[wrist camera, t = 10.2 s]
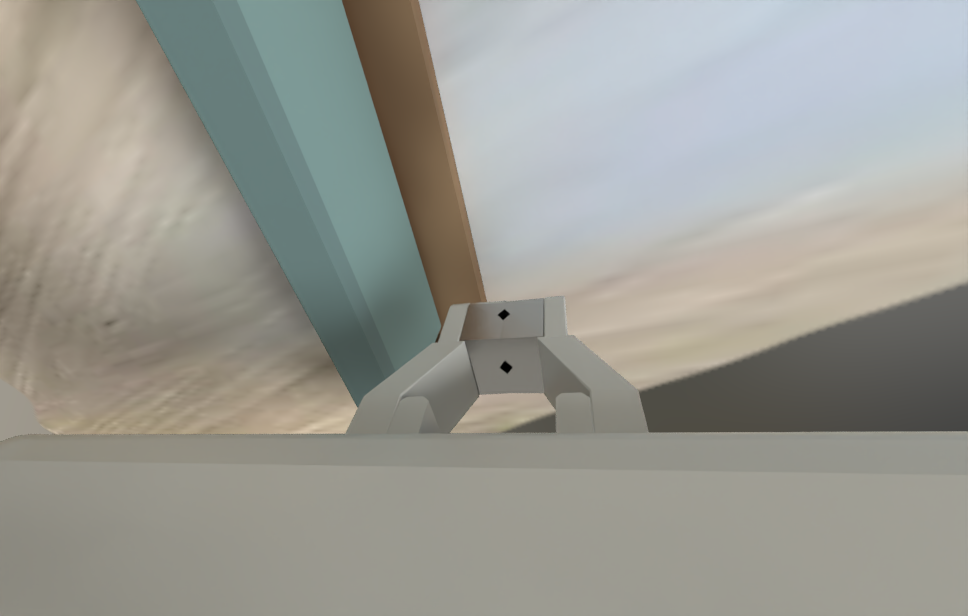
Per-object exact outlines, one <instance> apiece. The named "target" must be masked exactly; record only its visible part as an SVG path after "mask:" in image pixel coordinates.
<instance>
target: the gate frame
mask: <svg viewBox="0 0 968 616" xmlns="http://www.w3.org/2000/svg"><path fill="white" fill-rule="evenodd" d="M342 3H343V6H344V10H345V13H346V16H347V19H348V23H349V26H350V29H351V32H352V36H353V39H354V42H355V46H356V49H357V52H358V55H359V59H360V62H361V65H362V68H363V72H364V75H365V78H366V81H367V85H368V88H369V91H370V95H371V98H372V101H373V104H374V108H375V111H376V114H377V117H378V121H379V124H380V127H381V130H382V134H383V137H384V140H385V144H386V147H387V150H388V153H389V157H390V160H391V163H392V166H393V170H394V173H395V176H396V179H397V183H398V186H399V189H400V193H401V196H402V199H403V202H404V206H405V209H406V212H407V215H408V219H409V222H410V225H411V228H412V232H413V235H414V238H415V242H416V245H417V248H418V251H419V255H420V258H421V261H422V264H423V268H424V271H425V274H426V277H427V281H428V284H429V287H430V291H431V294H432V297H433V300H434V304H435V307H436V310H437V313H438V317H439V320H440V323H441V328H440V331H439V333H438V336H437V338H436V341H435V343H438V340H439V337H440V334H441V331H442V329H443V326H444V323H445V320H446V317H447V314H448V311H449V308H450V306H451V305H453V304H462V303H479V302H487V300H486V296H485V292H484V287H483V283H482V278H481V274H480V270H479V265H478V261H477V256H476V252H475V248H474V243H473V239H472V234H471V230H470V226H469V221H468V217H467V212H466V208H465V204H464V199H463V195H462V190H461V186H460V181H459V177H458V173H457V168H456V164H455V159H454V155H453V151H452V146H451V142H450V137H449V133H448V129H447V124H446V120H445V115H444V111H443V107H442V102H441V98H440V93H439V89H438V85H437V80H436V76H435V71H434V67H433V63H432V58H431V54H430V49H429V45H428V40H427V36H426V32H425V27H424V23H423V18H422V14H421V10H420V5H419V1H418V0H342Z"/></svg>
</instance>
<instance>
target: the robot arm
mask: <svg viewBox="0 0 968 616" xmlns="http://www.w3.org/2000/svg"><path fill="white" fill-rule="evenodd" d="M501 393H544V394H545V396H546V397H547V399H548V400H549V401H550V403H551V404H552V406H553V407H554V408H555V410H556V433H450V432H451V430H452V429H453V428H454V427H455V426H456V424H457V423H458V422H459V421H460V419H461V418H462V417H463V416H464V415H465V413H466V412H467V411H468V410H469V408H470V407H471V406H472V405H473V403H474V402H475V401H476V400H477V399H478V397H479V395H482V394H501ZM0 616H968V432H721V433H720V432H718V433H717V432H711V433H710V432H707V433H649V432H648V428H647V424H646V420H645V416H644V412H643V408H642V404H641V400H640V396H639V392H638V390H637V389H636V388H635V387H634V386H633V385H631V384H630V383H629V382H628V381H627V380H626V379H624V378H623V377H622V376H621V375H620V374H618V373H617V372H616V371H615V370H614V369H613V368H611V367H610V366H609V365H608V364H607V363H606V362H604V361H603V360H602V359H601V358H600V357H598V356H597V355H596V354H595V353H594V352H593V351H591V350H590V349H589V348H588V347H587V346H586V345H584V344H583V343H582V342H581V341H580V340H578V339H577V338H576V337H575V336H574V335H568V333H567V320H566V306H565V297H564V296H556V297H547V298H540V299H529V300H518V301H498V302H479V303H462V304H453V305H451V306H450V308H449V311H448V314H447V317H446V320H445V323H444V326H443V329H442V331H441V334H440V337H439V340H438V343H432V344H430V345H429V346H428V347H427V348H425V349H424V350H423V351H421V352H420V353H419V354H418V355H416V356H415V357H414V358H412V359H411V360H410V361H409V362H407V363H406V364H405V365H403V366H402V367H401V368H400V369H398V370H397V371H396V372H394V373H393V374H392V375H391V376H389V377H388V378H387V379H385V380H384V381H383V382H381V383H380V384H379V385H378V386H376V387H375V388H374V389H372V390H371V391H370V392H369V393H367V394H366V395H365V396H364V397H363V399H362V401H361V403H360V405H359V407H358V409H357V411H356V413H355V415H354V417H353V419H352V421H351V423H350V425H349V427H348V430H347V432H346V434H80V435H56V434H50V435H49V434H28V435H20V436H15V437H11V438H8V439H6V440H3V441H0Z"/></svg>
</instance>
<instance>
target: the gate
mask: <svg viewBox="0 0 968 616" xmlns="http://www.w3.org/2000/svg"><path fill="white" fill-rule="evenodd" d="M136 1H137V3H138V5H139V7H140V9H141V11H142V12H143V14H144V16H145V18H146V20H147V22H148V23H149V25H150V27H151V29H152V31H153V33H154V34H155V36H156V38H157V40H158V42H159V44H160V45H161V47H162V49H163V51H164V53H165V55H166V56H167V58H168V60H169V62H170V64H171V66H172V68H173V69H174V71H175V73H176V75H177V77H178V79H179V80H180V82H181V84H182V86H183V88H184V90H185V91H186V93H187V95H188V97H189V99H190V101H191V102H192V104H193V106H194V108H195V110H196V112H197V113H198V115H199V117H200V119H201V121H202V123H203V124H204V126H205V128H206V130H207V132H208V134H209V135H210V137H211V139H212V141H213V143H214V145H215V146H216V148H217V150H218V152H219V154H220V156H221V157H222V159H223V161H224V163H225V165H226V167H227V169H228V170H229V172H230V174H231V176H232V178H233V180H234V181H235V183H236V185H237V187H238V189H239V191H240V192H241V194H242V196H243V198H244V200H245V202H246V203H247V205H248V207H249V209H250V211H251V213H252V214H253V216H254V218H255V220H256V222H257V224H258V225H259V227H260V229H261V231H262V233H263V235H264V236H265V238H266V240H267V242H268V244H269V246H270V247H271V249H272V251H273V253H274V255H275V257H276V258H277V260H278V262H279V264H280V266H281V268H282V270H283V271H284V273H285V275H286V277H287V279H288V281H289V282H290V284H291V286H292V288H293V290H294V292H295V293H296V295H297V297H298V299H299V301H300V303H301V304H302V306H303V308H304V310H305V312H306V314H307V315H308V317H309V319H310V321H311V323H312V325H313V326H314V328H315V330H316V332H317V334H318V336H319V337H320V339H321V341H322V343H323V345H324V347H325V348H326V350H327V352H328V354H329V356H330V358H331V359H332V361H333V363H334V365H335V367H336V369H337V371H338V372H339V374H340V376H341V378H342V380H343V382H344V383H345V385H346V387H347V389H348V391H349V393H350V394H351V396H352V398H353V400H354V402H355V404H356V405H357V407H359V405H360V403H361V401H362V399H363V397H364V396H365V395H366V394H367V393H369V392H370V391H371V390H372V389H374V388H375V387H376V386H378V385H379V384H380V383H381V382H383V381H384V380H385V379H387V378H388V377H389V376H391V375H392V374H393V373H394V372H396V371H397V370H398V369H400V368H401V367H402V366H403V365H405V364H406V363H407V362H409V361H410V360H411V359H412V358H414V357H415V356H416V355H418V354H419V353H420V352H421V351H423V350H424V349H425V348H427V347H428V346H429V345H430V344H432V343H435V341H436V338H437V336H438V333H439V331H440V328H441V323H440V320H439V317H438V313H437V310H436V307H435V304H434V300H433V297H432V294H431V291H430V287H429V284H428V281H427V277H426V274H425V271H424V268H423V264H422V261H421V258H420V255H419V251H418V248H417V245H416V242H415V238H414V235H413V232H412V228H411V225H410V222H409V219H408V215H407V212H406V209H405V206H404V202H403V199H402V196H401V193H400V189H399V186H398V183H397V179H396V176H395V173H394V170H393V166H392V163H391V160H390V157H389V153H388V150H387V147H386V144H385V140H384V137H383V134H382V130H381V127H380V124H379V121H378V117H377V114H376V111H375V108H374V104H373V101H372V98H371V95H370V91H369V88H368V85H367V81H366V78H365V75H364V72H363V68H362V65H361V62H360V59H359V55H358V52H357V49H356V46H355V42H354V39H353V36H352V32H351V29H350V26H349V23H348V19H347V16H346V13H345V10H344V6H343V3H342V0H136Z"/></svg>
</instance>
